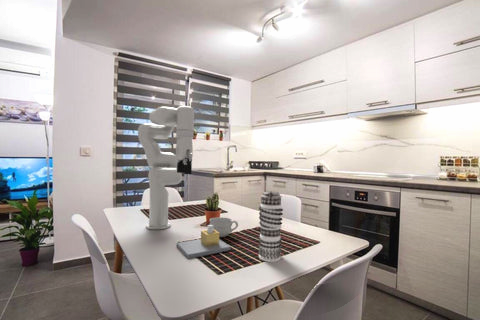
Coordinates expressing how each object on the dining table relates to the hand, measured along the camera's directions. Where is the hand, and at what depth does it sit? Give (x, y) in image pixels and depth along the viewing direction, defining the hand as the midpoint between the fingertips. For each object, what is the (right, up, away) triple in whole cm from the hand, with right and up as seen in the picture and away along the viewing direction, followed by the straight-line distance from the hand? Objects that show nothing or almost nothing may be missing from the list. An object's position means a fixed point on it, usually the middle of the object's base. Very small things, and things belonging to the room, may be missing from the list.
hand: (183, 173), depth 108 cm
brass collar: (+12, -29, -6) cm, 32 cm away
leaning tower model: (+36, -32, -15) cm, 50 cm away
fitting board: (+10, -31, -8) cm, 33 cm away
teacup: (+17, -31, +10) cm, 37 cm away
